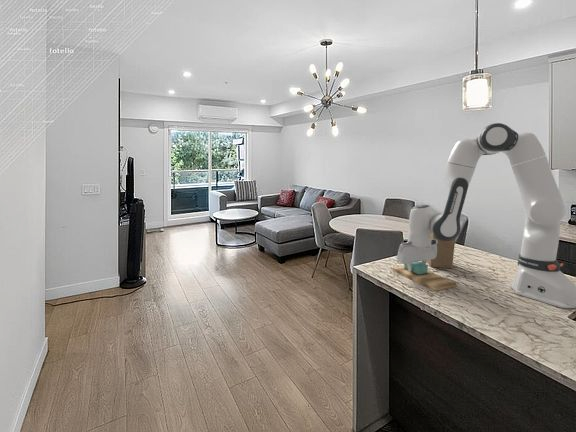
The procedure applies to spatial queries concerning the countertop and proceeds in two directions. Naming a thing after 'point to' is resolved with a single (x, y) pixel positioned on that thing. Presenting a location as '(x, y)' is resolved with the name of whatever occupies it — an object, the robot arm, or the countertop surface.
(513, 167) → the robot arm
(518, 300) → the countertop surface
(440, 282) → the oak board
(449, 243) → the wooden block
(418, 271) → the block
